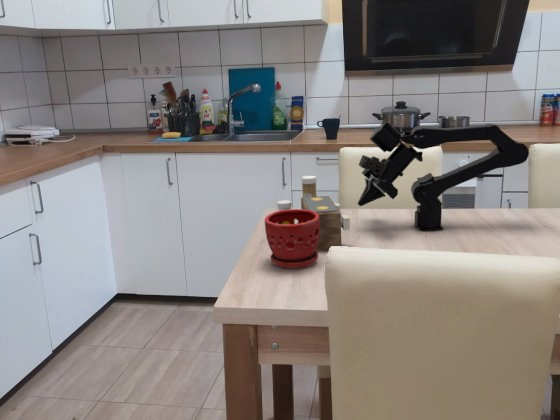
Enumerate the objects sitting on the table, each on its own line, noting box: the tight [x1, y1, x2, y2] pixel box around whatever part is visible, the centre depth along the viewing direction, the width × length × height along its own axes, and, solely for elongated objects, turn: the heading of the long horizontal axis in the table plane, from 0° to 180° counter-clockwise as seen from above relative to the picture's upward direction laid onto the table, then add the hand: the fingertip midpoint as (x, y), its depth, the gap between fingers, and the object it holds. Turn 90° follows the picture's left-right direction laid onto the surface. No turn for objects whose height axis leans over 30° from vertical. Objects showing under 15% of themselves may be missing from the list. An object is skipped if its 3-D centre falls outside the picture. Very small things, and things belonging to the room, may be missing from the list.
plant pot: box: [264, 208, 320, 269], centre depth 130 cm, size 13×13×12 cm
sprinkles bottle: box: [301, 175, 318, 198], centre depth 167 cm, size 5×5×14 cm
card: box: [302, 195, 338, 213], centre depth 145 cm, size 7×16×1 cm, turn 4°
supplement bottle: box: [275, 199, 296, 224], centre depth 152 cm, size 5×5×10 cm
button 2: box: [341, 214, 351, 231], centre depth 139 cm, size 10×3×3 cm, turn 94°
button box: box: [300, 195, 342, 253], centre depth 146 cm, size 8×19×10 cm, turn 4°
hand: (358, 205), depth 152 cm, fingers closed
